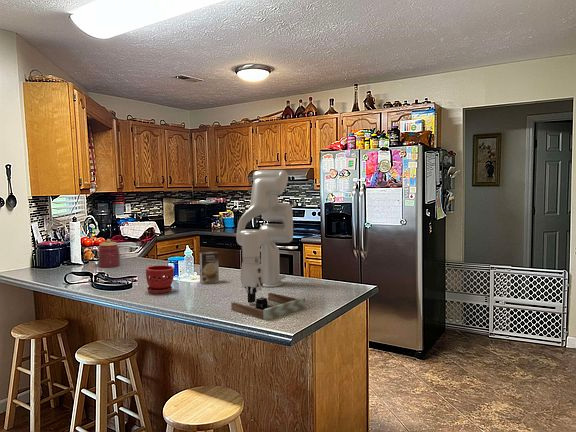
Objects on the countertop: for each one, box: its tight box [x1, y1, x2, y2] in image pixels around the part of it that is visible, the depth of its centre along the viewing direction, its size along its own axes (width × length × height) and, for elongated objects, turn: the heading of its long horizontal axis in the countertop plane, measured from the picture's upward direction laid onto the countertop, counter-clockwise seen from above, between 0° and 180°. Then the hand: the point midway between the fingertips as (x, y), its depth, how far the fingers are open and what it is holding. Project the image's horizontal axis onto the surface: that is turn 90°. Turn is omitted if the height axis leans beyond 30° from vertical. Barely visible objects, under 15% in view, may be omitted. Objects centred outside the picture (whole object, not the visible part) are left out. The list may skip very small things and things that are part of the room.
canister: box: [97, 238, 121, 269], centre depth 278 cm, size 13×13×18 cm
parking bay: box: [230, 292, 306, 321], centre depth 180 cm, size 23×20×4 cm
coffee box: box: [199, 251, 220, 285], centre depth 230 cm, size 9×6×16 cm
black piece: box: [254, 296, 274, 310], centre depth 181 cm, size 12×7×5 cm, turn 139°
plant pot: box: [145, 264, 175, 294], centre depth 210 cm, size 13×13×12 cm
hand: (251, 302), depth 187 cm, fingers closed
